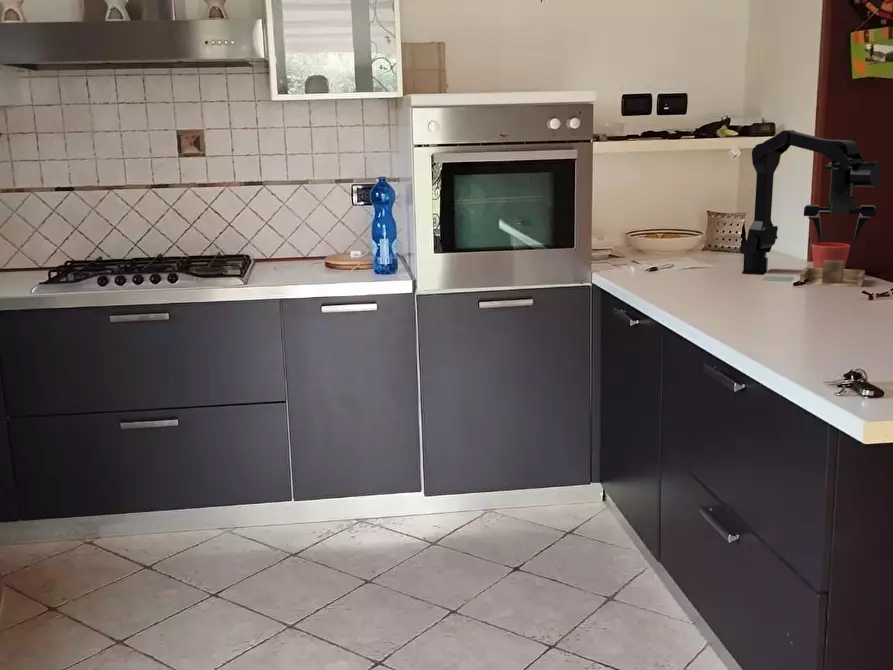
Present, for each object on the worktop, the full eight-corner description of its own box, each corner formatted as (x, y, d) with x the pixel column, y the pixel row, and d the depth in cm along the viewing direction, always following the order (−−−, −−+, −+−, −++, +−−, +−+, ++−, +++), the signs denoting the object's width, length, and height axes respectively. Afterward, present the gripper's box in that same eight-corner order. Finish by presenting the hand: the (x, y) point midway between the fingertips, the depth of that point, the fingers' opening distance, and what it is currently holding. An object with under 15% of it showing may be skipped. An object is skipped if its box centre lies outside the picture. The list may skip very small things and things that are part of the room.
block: (821, 282, 259) (823, 262, 257) (823, 280, 263) (825, 259, 262) (840, 283, 256) (842, 262, 255) (842, 281, 261) (843, 260, 259)
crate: (799, 285, 259) (800, 273, 258) (805, 279, 269) (805, 267, 268) (860, 288, 251) (861, 276, 250) (864, 282, 261) (864, 270, 261)
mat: (761, 282, 266) (761, 280, 266) (766, 277, 273) (766, 276, 273) (790, 283, 262) (790, 281, 262) (794, 279, 269) (794, 277, 269)
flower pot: (840, 273, 278) (843, 241, 276) (853, 279, 267) (855, 246, 265) (805, 273, 279) (807, 242, 277) (815, 279, 268) (817, 246, 266)
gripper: (804, 188, 251) (801, 243, 255) (878, 187, 244) (874, 245, 247) (806, 185, 261) (802, 239, 265) (877, 185, 254) (873, 240, 257)
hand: (837, 241), depth 258 cm, fingers open, 9 cm apart
